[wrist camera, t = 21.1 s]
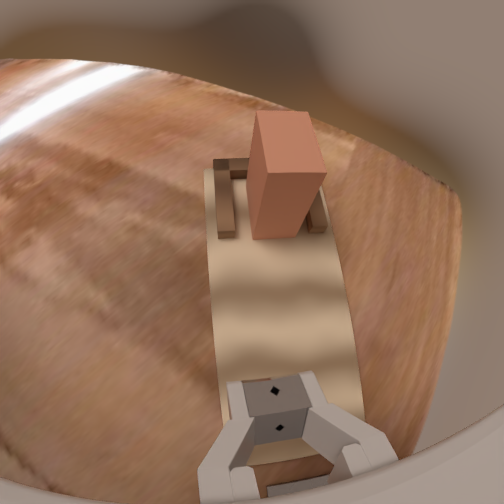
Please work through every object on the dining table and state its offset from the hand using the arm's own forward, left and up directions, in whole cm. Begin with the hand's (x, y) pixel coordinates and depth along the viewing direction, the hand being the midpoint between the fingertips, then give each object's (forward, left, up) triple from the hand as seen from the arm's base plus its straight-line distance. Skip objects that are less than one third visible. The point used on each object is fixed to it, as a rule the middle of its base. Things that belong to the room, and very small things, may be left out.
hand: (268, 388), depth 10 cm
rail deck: (-4, +7, -17) cm, 18 cm away
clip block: (-12, +11, -15) cm, 22 cm away
